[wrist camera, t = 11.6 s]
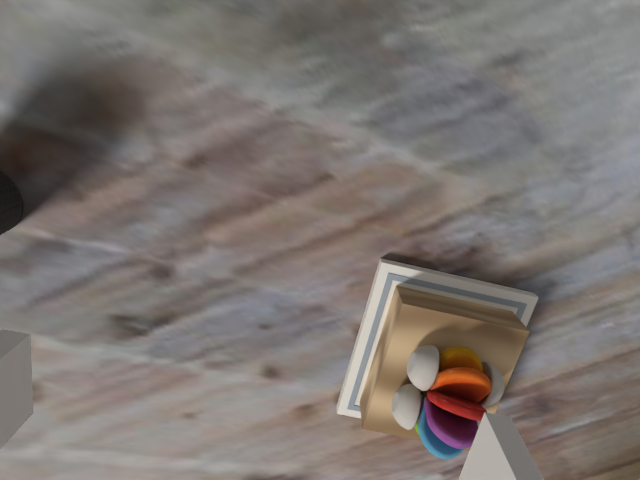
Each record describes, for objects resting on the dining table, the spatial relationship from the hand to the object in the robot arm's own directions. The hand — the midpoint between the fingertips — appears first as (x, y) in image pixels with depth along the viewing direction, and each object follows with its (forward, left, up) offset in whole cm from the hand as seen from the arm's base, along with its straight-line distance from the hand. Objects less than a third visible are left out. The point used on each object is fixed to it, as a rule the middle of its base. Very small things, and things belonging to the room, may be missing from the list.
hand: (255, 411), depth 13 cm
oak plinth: (+14, +17, -29) cm, 36 cm away
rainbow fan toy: (+13, +16, -25) cm, 33 cm away
